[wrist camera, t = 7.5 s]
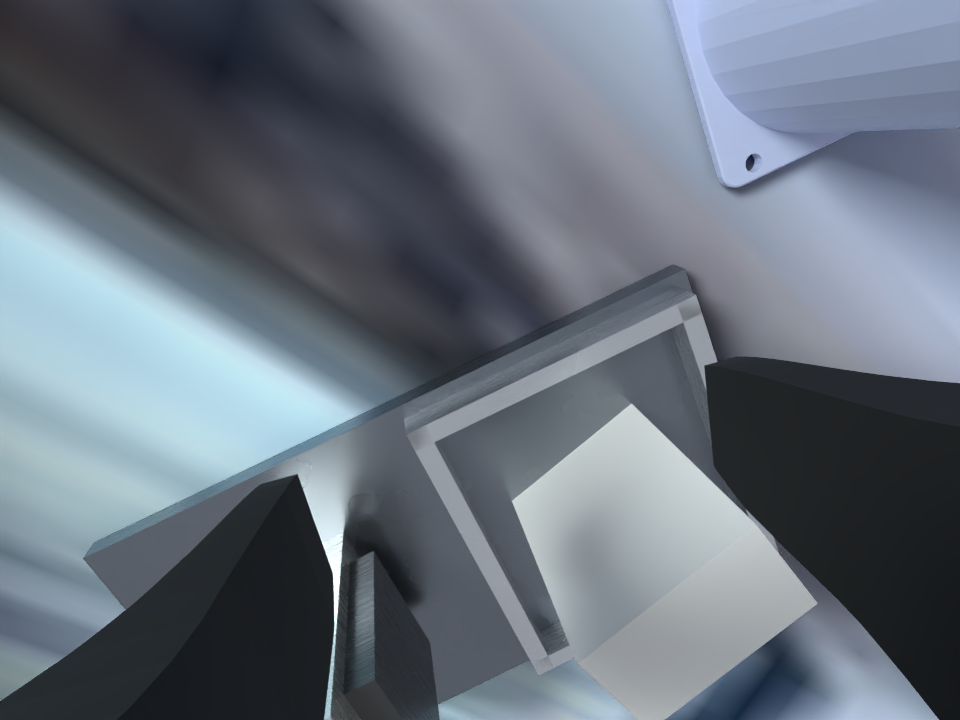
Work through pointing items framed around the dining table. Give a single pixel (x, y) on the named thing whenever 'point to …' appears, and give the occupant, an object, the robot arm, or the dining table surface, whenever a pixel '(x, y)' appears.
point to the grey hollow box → (456, 499)
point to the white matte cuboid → (653, 568)
